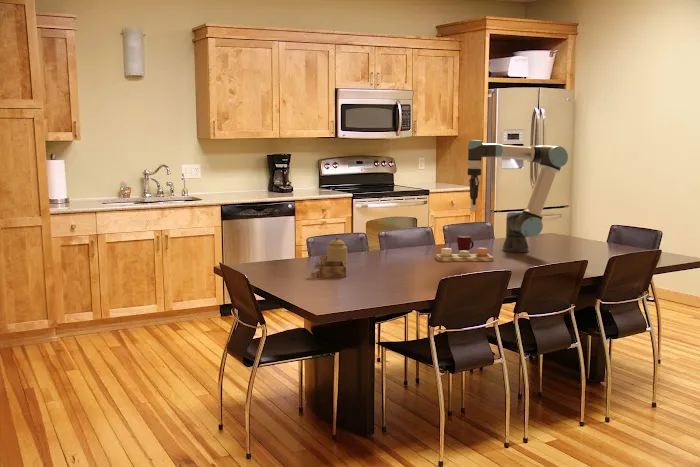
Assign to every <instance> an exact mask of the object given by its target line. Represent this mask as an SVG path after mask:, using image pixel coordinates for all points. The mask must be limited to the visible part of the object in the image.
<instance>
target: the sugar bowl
mask: <svg viewBox="0 0 700 467" xmlns="http://www.w3.org/2000/svg"><path fill="white" fill-rule="evenodd" d="M326 256H327V261H344V263H345V264H347V263H348V247H347V246H346V245H345V242H344V241H343V240H341V239H340V238H339V235H338V234H336V235H335V237H334V239H332V240H330V242H329V245H328V246H326Z"/></svg>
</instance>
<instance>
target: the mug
mask: <svg viewBox="0 0 700 467" xmlns="http://www.w3.org/2000/svg"><path fill="white" fill-rule="evenodd" d="M456 241H457V249H458V252H459V251H462V250H465V251H469V252H470V250H471V249H472V248H474V246H475V245H474V241H473V240H472V236H470V235H458V236H456Z"/></svg>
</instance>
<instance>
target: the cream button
mask: <svg viewBox="0 0 700 467" xmlns="http://www.w3.org/2000/svg"><path fill="white" fill-rule="evenodd" d="M452 252H453V251H452V248H451V247H450V248H449V247H444V248H443V247H442V248H441V253H440V254H441V256H443V257H451V255H452V254H453V253H452Z"/></svg>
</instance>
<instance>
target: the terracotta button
mask: <svg viewBox="0 0 700 467" xmlns="http://www.w3.org/2000/svg"><path fill="white" fill-rule="evenodd" d="M476 254H477V256H482V257H484V256H487V254H488V248H487V247H476Z"/></svg>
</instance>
